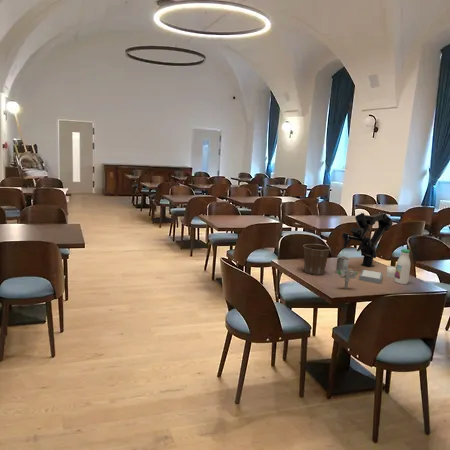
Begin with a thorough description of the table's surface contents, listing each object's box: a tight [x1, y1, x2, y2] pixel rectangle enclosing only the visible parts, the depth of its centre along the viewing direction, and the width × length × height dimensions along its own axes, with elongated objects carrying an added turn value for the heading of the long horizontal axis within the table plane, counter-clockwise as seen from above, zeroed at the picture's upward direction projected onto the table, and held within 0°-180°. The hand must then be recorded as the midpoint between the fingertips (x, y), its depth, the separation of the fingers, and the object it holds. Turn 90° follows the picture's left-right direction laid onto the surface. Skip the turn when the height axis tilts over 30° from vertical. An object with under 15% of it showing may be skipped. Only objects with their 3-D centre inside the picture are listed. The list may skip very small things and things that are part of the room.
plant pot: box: [302, 243, 331, 276], centre depth 268 cm, size 16×16×16 cm
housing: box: [335, 256, 350, 275], centre depth 270 cm, size 6×4×10 cm
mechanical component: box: [337, 269, 358, 290], centre depth 240 cm, size 3×10×10 cm, turn 95°
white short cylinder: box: [385, 265, 396, 279], centre depth 271 cm, size 6×6×6 cm
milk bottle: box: [393, 248, 411, 285], centre depth 259 cm, size 8×8×20 cm
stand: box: [358, 269, 384, 285], centre depth 264 cm, size 16×12×3 cm
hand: (350, 249), depth 274 cm, fingers open, 9 cm apart
